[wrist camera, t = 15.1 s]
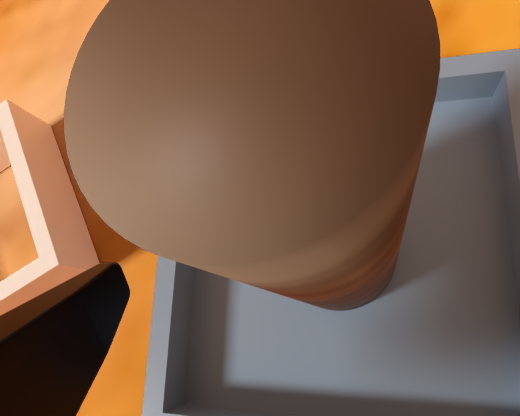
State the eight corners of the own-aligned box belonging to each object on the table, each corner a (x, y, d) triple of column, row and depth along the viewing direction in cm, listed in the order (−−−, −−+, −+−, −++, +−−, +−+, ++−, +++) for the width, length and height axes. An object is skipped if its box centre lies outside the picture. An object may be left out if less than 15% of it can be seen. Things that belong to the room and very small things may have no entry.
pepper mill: (360, 334, 15) (296, 356, 4) (262, 273, 17) (2, 156, 5) (418, 230, 16) (521, -40, 4) (316, 180, 17) (186, -115, 6)
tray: (551, 460, 14) (594, 494, 11) (178, 418, 18) (139, 435, 15) (505, 91, 17) (528, 47, 15) (202, 122, 21) (174, 91, 18)
